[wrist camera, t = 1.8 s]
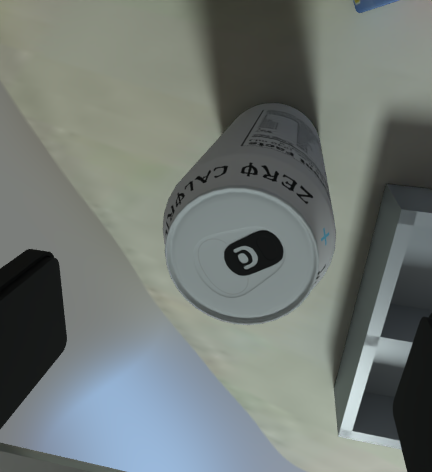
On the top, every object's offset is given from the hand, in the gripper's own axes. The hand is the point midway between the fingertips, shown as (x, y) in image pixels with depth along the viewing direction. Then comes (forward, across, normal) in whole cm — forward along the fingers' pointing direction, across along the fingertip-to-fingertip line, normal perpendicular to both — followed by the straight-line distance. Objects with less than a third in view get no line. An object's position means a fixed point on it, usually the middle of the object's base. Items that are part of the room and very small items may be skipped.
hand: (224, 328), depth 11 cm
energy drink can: (+18, 0, -1) cm, 18 cm away
